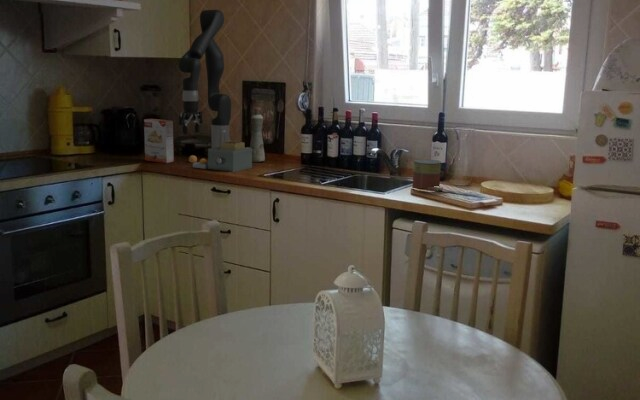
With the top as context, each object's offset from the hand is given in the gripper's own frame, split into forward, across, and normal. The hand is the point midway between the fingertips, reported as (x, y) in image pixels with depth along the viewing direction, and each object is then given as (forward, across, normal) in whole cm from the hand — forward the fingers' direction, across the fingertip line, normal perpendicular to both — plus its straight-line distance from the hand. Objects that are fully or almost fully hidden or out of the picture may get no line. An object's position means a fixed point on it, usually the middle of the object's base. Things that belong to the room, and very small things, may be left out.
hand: (191, 133), depth 324 cm
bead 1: (+15, -1, 0) cm, 15 cm away
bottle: (+16, -27, +20) cm, 37 cm away
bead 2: (+14, +7, +13) cm, 21 cm away
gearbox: (+15, +1, +25) cm, 29 cm away
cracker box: (+15, +5, -17) cm, 23 cm away
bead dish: (+15, +7, +13) cm, 21 cm away
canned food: (+15, -10, +119) cm, 121 cm away
